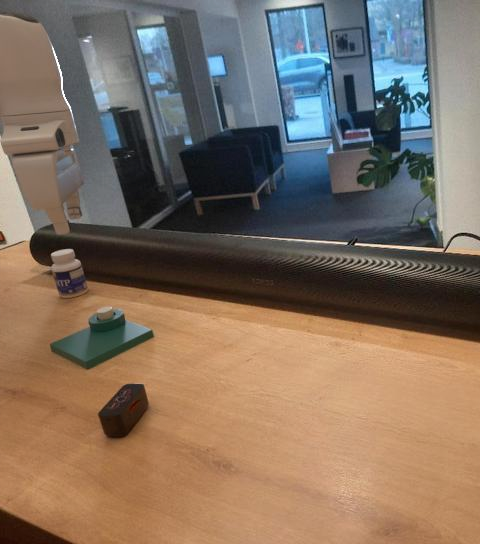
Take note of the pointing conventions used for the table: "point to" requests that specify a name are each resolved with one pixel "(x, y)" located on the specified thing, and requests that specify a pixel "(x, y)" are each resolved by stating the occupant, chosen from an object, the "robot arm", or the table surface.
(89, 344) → the scale
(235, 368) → the table surface
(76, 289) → the pill bottle
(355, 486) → the table surface
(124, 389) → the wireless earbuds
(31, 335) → the table surface
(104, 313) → the button
